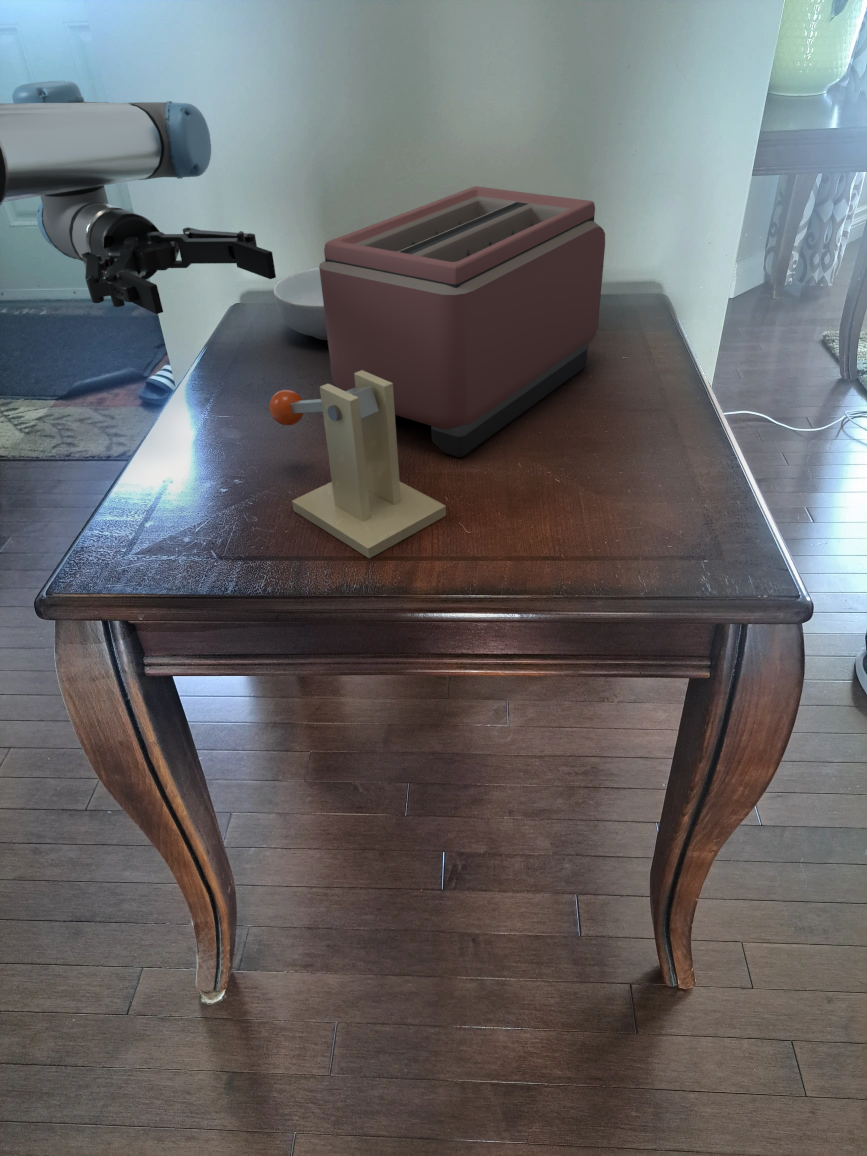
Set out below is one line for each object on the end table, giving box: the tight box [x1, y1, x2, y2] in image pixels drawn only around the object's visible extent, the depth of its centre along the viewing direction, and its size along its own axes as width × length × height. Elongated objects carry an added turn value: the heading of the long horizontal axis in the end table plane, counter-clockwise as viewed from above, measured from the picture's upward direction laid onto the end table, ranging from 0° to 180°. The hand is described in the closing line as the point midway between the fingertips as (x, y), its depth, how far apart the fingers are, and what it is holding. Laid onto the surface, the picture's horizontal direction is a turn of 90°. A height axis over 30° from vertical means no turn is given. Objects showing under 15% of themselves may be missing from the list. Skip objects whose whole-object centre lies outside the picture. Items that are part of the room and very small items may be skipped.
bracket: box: [291, 370, 447, 559], centre depth 79 cm, size 12×10×14 cm
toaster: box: [318, 185, 606, 458], centre depth 99 cm, size 19×36×21 cm, turn 144°
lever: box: [268, 386, 379, 426], centre depth 81 cm, size 16×4×4 cm, turn 44°
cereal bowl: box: [273, 267, 328, 341], centre depth 121 cm, size 17×17×7 cm
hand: (216, 282), depth 85 cm, fingers open, 13 cm apart
